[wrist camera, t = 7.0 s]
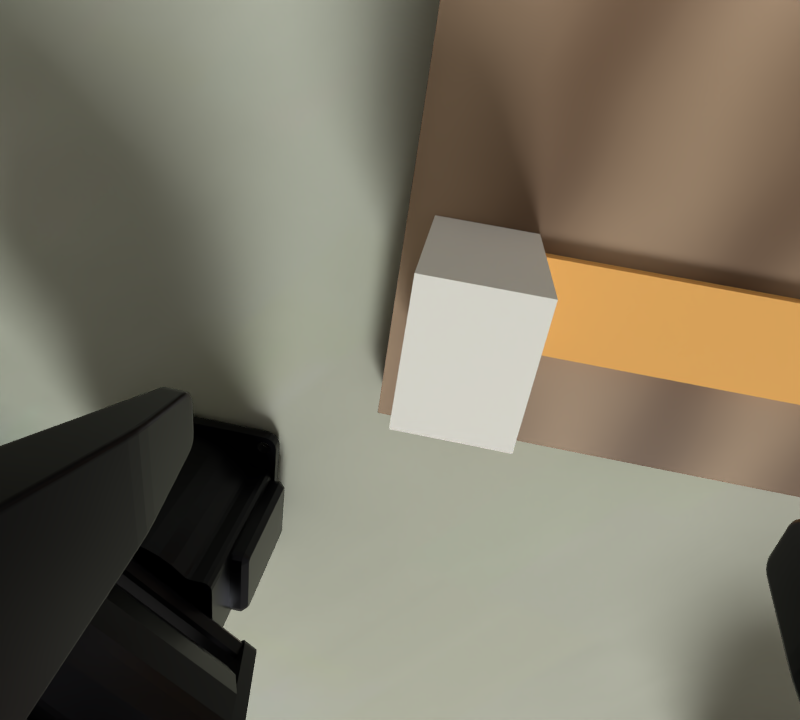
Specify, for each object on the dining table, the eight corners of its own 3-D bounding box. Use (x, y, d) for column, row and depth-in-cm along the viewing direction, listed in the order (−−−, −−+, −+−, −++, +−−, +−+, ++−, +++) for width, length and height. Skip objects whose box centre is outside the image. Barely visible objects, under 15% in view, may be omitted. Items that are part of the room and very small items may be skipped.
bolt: (413, 339, 18) (388, 428, 14) (435, 215, 17) (414, 273, 12) (986, 450, 17) (1152, 582, 13) (1079, 331, 16) (1310, 439, 11)
